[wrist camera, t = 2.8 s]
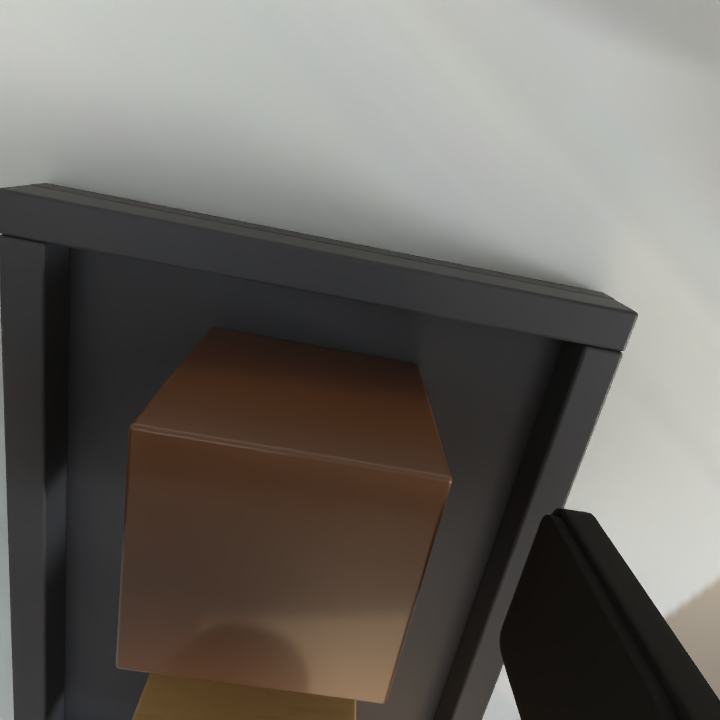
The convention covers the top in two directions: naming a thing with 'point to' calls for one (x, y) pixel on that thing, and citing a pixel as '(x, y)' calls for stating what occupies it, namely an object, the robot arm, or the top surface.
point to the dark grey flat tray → (291, 323)
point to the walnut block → (279, 518)
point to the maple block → (233, 702)
